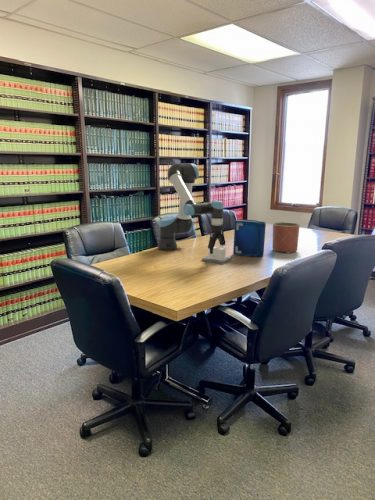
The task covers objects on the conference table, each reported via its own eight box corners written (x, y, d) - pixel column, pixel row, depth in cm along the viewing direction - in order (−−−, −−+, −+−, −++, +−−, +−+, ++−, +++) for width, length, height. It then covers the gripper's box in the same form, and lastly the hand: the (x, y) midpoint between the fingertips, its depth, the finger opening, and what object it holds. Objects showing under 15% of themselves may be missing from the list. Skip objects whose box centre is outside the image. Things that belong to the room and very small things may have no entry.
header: (201, 260, 247) (201, 253, 246) (211, 257, 257) (211, 250, 256) (222, 264, 238) (222, 256, 237) (231, 260, 248) (231, 253, 247)
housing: (208, 258, 248) (208, 248, 246) (212, 256, 252) (212, 246, 250) (221, 260, 242) (221, 249, 241) (225, 258, 247) (225, 248, 245)
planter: (266, 250, 274) (267, 224, 270) (279, 246, 288) (280, 221, 283) (290, 254, 262) (291, 227, 257) (302, 250, 275) (304, 223, 271)
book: (265, 255, 261) (266, 220, 255) (263, 257, 254) (265, 221, 249) (234, 253, 268) (235, 219, 262) (232, 255, 261) (233, 220, 256)
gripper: (212, 227, 230) (212, 261, 235) (230, 222, 250) (230, 253, 255) (202, 226, 234) (202, 259, 239) (221, 221, 254) (220, 252, 259)
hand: (216, 256), depth 247 cm, fingers open, 12 cm apart
